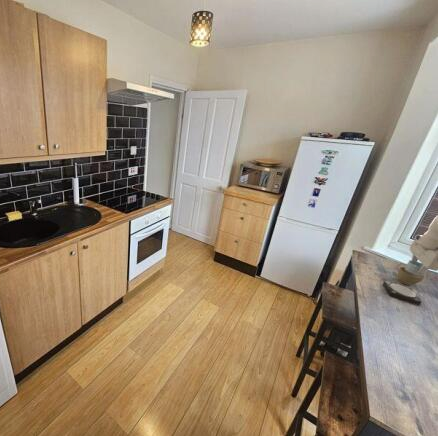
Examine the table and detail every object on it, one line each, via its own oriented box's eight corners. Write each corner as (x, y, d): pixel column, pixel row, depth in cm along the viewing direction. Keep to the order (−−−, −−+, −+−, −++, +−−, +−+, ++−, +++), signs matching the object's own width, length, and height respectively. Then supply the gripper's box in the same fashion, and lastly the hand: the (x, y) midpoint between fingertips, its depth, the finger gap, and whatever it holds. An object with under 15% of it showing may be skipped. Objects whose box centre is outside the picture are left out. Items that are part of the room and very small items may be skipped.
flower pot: (387, 275, 134) (394, 265, 131) (407, 278, 132) (414, 268, 129) (401, 286, 125) (408, 276, 122) (422, 290, 123) (430, 279, 120)
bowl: (419, 271, 115) (424, 263, 113) (426, 278, 110) (431, 270, 108) (401, 266, 118) (406, 258, 116) (407, 272, 113) (412, 265, 111)
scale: (409, 292, 121) (412, 288, 119) (419, 305, 112) (422, 301, 111) (382, 284, 125) (385, 279, 124) (389, 296, 116) (392, 291, 115)
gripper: (456, 256, 97) (436, 281, 103) (432, 237, 114) (415, 260, 120) (435, 251, 100) (417, 276, 106) (414, 233, 116) (399, 256, 122)
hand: (416, 267), depth 113 cm, fingers closed on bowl, 7 cm apart
